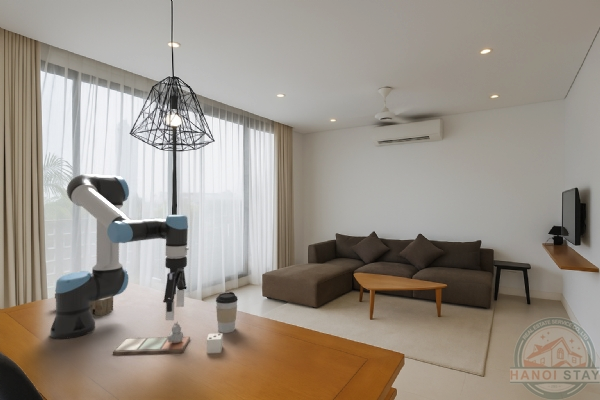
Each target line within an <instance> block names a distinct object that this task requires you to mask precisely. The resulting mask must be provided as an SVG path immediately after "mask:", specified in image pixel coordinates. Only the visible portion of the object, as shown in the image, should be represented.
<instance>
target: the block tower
mask: <svg viewBox="0 0 600 400" xmlns="http://www.w3.org/2000/svg"><path fill="white" fill-rule="evenodd" d="M54 300H56V292H55V293H54ZM90 310H91V313H92V315H96V316H102V317H103V316H106V315H107V314H110V313H112V311H113V310H114V296H113V297H107V298H103V299H100V300H96V301H92V302H90Z"/></svg>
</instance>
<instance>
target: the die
mask: <svg viewBox="0 0 600 400" xmlns="http://www.w3.org/2000/svg"><path fill="white" fill-rule="evenodd" d="M223 334H224V333H222V332H219V333H208V335H207V337H206V354H221V353H222V349H223V340H224V339H223V336H224V335H223Z"/></svg>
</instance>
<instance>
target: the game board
mask: <svg viewBox="0 0 600 400" xmlns="http://www.w3.org/2000/svg"><path fill="white" fill-rule="evenodd" d="M190 340H191V336H183V340H182V341H181V342H179V343H172V342H171V343H169V342H168V338H167V337H165V336H163V337H162V336H161V337H131V338H130V337H127V338H125V339H123V341H122V342H121V343H120V344H119V345H117V347H116V348H115V349H114V350H113V351H112V355H114V356H117V355H146V354H147V355H148V354H152V355H153V354H177V353H178V354H181V353H184V351H185V349H186V347H188V346H187V345H188V344H189V342H190Z"/></svg>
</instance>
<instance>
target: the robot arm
mask: <svg viewBox="0 0 600 400" xmlns="http://www.w3.org/2000/svg"><path fill="white" fill-rule="evenodd" d="M128 185H129V184H128V183H127V181H126V180H125V179H124V178H123V177H121V176H118V175H112V174H110V175H107V174H89V173H85V174H80V175H77V176H75V177H74V178H72V179H71V180H70V181H69V182H68V184H67V187H66V195H67V197H68V199H69V201H71V202H72V203H73V204H75V205H76V206H78V207H82V208H83V209H84V210H86V211H87V212H88V213H89V214H90V215H91V216H93V217H94V218H95V219H96V262H95V263H96V264H95V265H94V266H93V267H92V273H91V271H88V270H87V271H86V270H82V271H75V272H70V273H68V274H65V275H62V276H60V277H59V278H58V279H57V280H56V285H55V293H56V299H55V317H54V320H53V323H52V325H51V328H50V332H49V335H50V337H51V338H52V339H56V340H65V339H74V338H78V337H81V336H84V335H87V334H89V333H91V332H92V331H94V330H95V329H96V320H95V317H94V316H93V315H94V314H92V313H91V310H90V302H92V301H96V300H100V299H103V298H107V297H113V298H114V297H115V296H117V295H118V296H119V295H120V294H122V293H124V292H125V291H126V289H127V287H128V285H129V274H128V270H127V269H125V268H124V267H123V264H122V263H120V244H126V243H133V242H139V241H148V240H155V239H160V240H165V264H164V265H165V266H164V267H165V268H166V269H170V272H169V273H167V276H166V285H165V291H164V298H163V301H162V302H163V303H165V321H174V320H175V306H176V308H182V307H185V290H187V289H188V287H187V286H186V285H187V283H186V275H185V268H186V267H187V266H188V256H187V255H188V251H189V247H188V231H189V229H188V228H189V223H188V217H187V215H184V214H169V215H167V216H166V219H164V218H160V217H155V218H154V217H153V218H152V217H151V218H148V219H136V220H135V219H131V218H130V217H129V216H128V215H126V214H125V213H124V212H122V210H121V208H122V207H124V202H126V201H127V200H128V198H129V195H130V187H129V186H128ZM175 296H176V302H175ZM175 303H176V305H175Z"/></svg>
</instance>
